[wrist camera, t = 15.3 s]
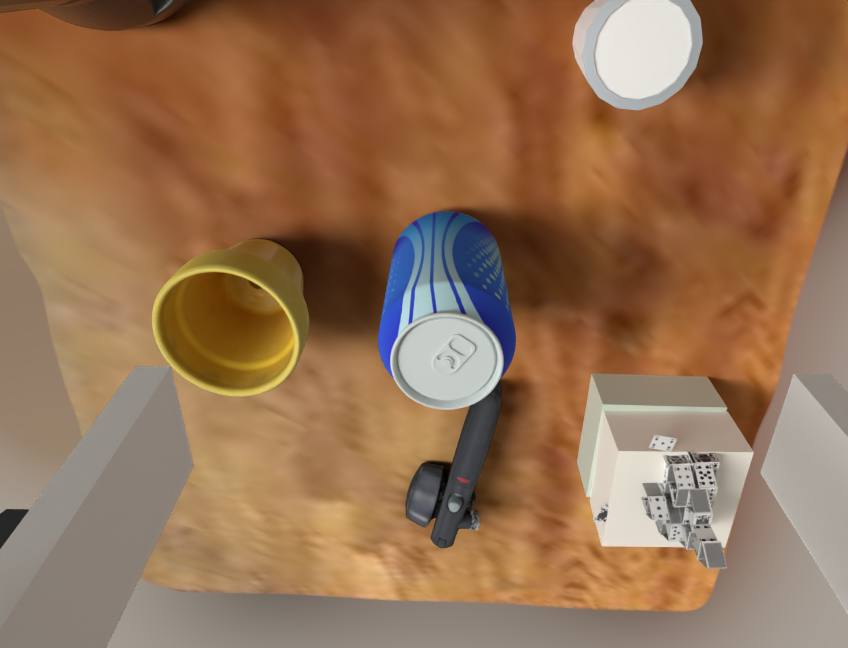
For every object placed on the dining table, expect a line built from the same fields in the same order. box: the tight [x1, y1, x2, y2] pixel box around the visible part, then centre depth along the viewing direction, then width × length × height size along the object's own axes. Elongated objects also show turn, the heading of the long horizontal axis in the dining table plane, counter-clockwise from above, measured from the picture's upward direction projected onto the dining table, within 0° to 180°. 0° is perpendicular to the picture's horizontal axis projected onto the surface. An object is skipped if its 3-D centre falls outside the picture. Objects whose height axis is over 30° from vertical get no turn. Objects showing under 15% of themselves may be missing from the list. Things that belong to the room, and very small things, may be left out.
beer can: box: [378, 211, 516, 410], centre depth 45 cm, size 8×8×16 cm
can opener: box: [406, 382, 502, 548], centre depth 59 cm, size 18×7×6 cm, turn 162°
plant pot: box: [152, 239, 309, 397], centre depth 49 cm, size 10×10×10 cm
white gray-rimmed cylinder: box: [572, 0, 703, 110], centre depth 40 cm, size 7×7×7 cm
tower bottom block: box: [577, 374, 727, 497], centre depth 57 cm, size 10×10×5 cm
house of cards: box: [592, 435, 727, 569], centre depth 46 cm, size 9×9×8 cm
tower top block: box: [590, 411, 754, 548], centre depth 53 cm, size 10×10×5 cm
